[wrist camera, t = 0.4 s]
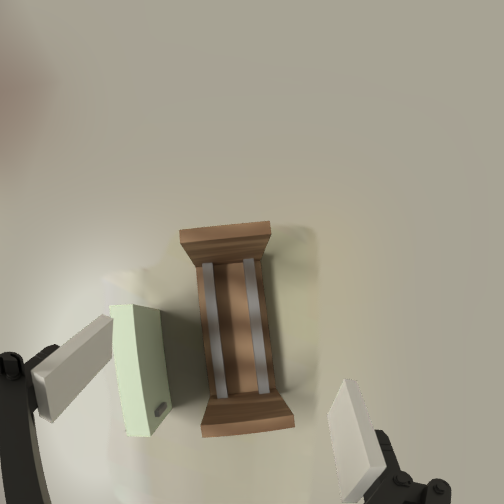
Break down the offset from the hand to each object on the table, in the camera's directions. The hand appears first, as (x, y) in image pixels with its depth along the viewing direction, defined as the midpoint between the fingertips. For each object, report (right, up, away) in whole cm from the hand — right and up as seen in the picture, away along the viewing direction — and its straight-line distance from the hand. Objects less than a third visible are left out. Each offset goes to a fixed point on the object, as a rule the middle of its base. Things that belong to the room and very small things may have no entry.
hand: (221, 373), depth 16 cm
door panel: (-13, -11, +30) cm, 35 cm away
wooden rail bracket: (-1, -5, +32) cm, 32 cm away
